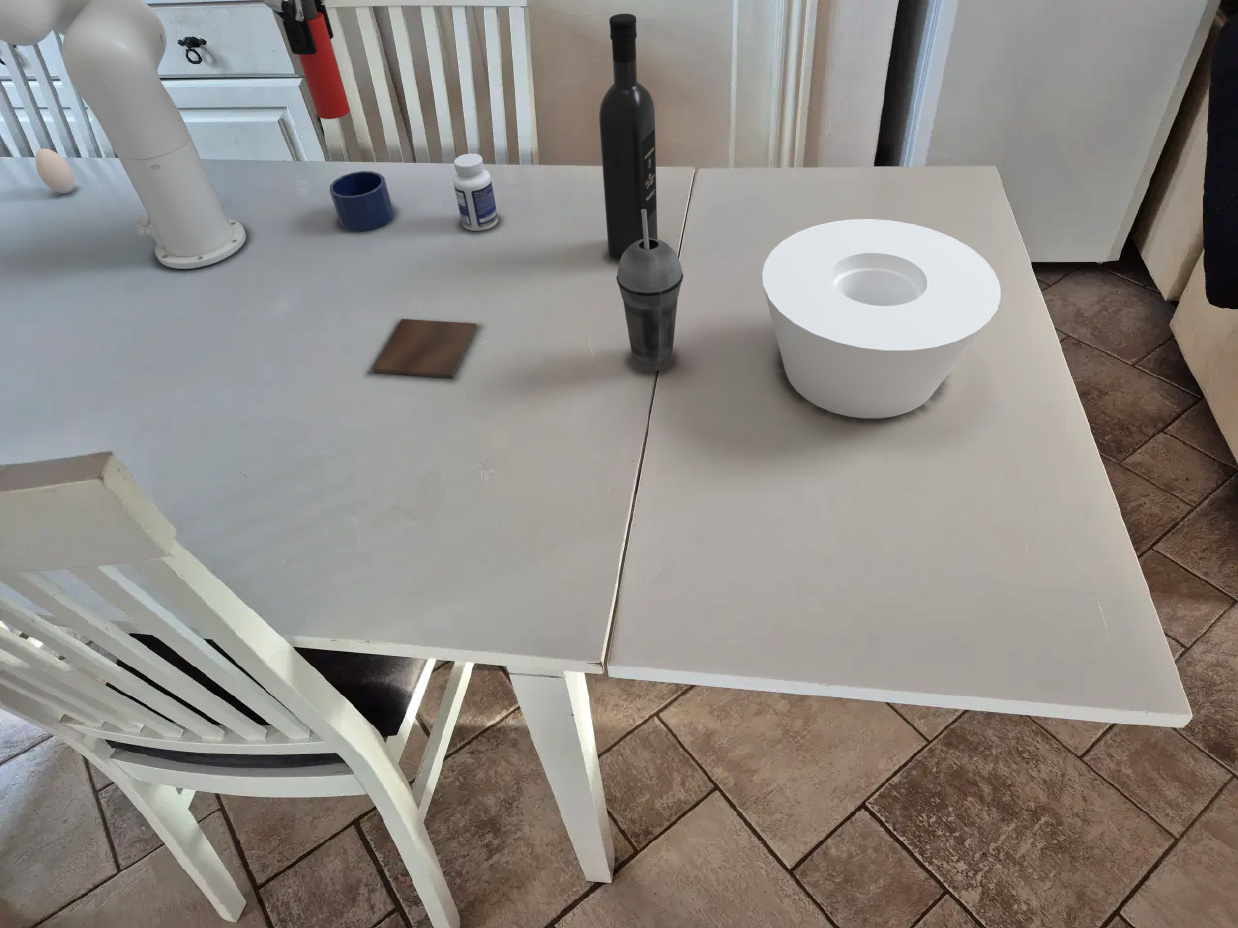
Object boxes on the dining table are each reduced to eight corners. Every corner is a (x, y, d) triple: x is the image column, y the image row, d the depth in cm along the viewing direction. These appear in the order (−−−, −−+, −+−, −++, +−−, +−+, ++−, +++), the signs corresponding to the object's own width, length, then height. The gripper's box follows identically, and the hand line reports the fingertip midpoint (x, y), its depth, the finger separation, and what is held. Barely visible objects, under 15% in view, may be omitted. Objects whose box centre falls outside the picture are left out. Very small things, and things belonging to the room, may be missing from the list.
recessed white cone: (961, 461, 82) (994, 370, 74) (731, 415, 89) (737, 326, 80) (977, 324, 98) (1006, 235, 89) (779, 293, 104) (788, 207, 96)
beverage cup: (690, 345, 98) (691, 191, 83) (673, 384, 93) (671, 227, 79) (632, 336, 100) (624, 183, 85) (613, 373, 95) (601, 218, 81)
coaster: (373, 372, 98) (372, 368, 97) (402, 322, 104) (401, 318, 104) (452, 378, 96) (451, 374, 96) (477, 327, 103) (476, 323, 102)
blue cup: (332, 230, 121) (320, 196, 117) (353, 203, 127) (342, 170, 123) (382, 232, 120) (372, 198, 116) (401, 205, 126) (392, 172, 122)
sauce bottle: (312, 119, 110) (275, 5, 100) (325, 105, 113) (291, -6, 103) (342, 119, 109) (309, 5, 99) (355, 106, 112) (323, -6, 102)
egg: (86, 191, 135) (62, 148, 129) (58, 202, 132) (32, 159, 127) (75, 182, 137) (51, 140, 132) (47, 193, 135) (21, 150, 130)
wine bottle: (660, 245, 114) (655, 11, 92) (643, 266, 110) (635, 28, 89) (623, 238, 116) (610, 7, 94) (606, 258, 112) (588, 23, 90)
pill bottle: (501, 213, 122) (491, 150, 115) (494, 232, 119) (482, 168, 111) (466, 213, 123) (454, 151, 116) (458, 232, 119) (444, 169, 112)
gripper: (265, -141, 98) (313, 23, 111) (193, -107, 86) (256, 71, 100) (323, -143, 97) (365, 23, 110) (258, -109, 85) (313, 72, 99)
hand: (313, 44), depth 105 cm, fingers closed on sauce bottle, 4 cm apart
